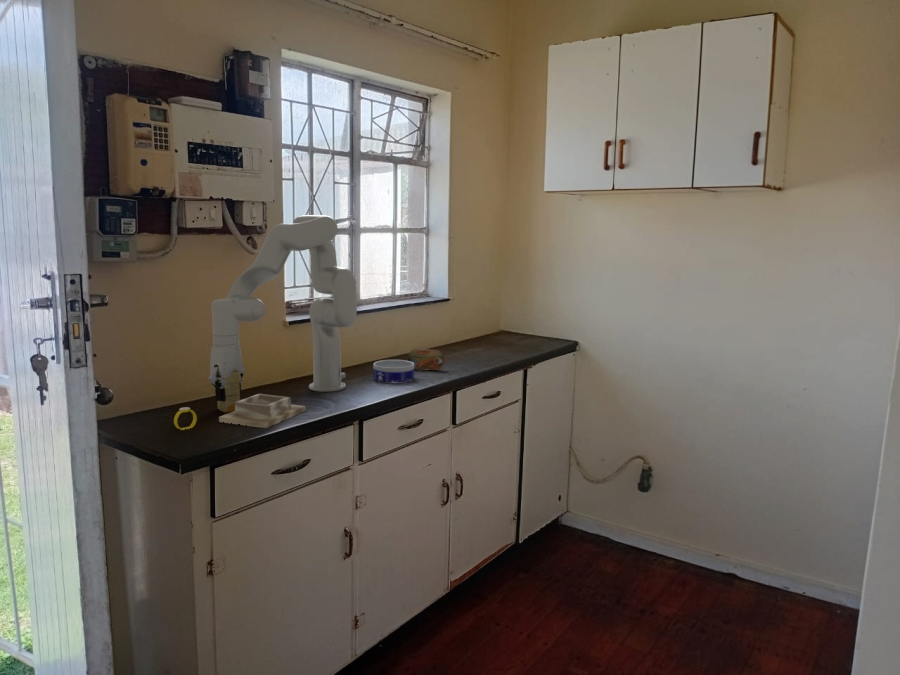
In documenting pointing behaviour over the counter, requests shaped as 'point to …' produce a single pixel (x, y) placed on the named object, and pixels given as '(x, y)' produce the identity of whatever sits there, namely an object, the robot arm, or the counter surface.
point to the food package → (426, 359)
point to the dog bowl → (393, 371)
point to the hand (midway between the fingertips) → (228, 397)
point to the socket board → (262, 411)
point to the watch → (185, 409)
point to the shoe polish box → (230, 393)
